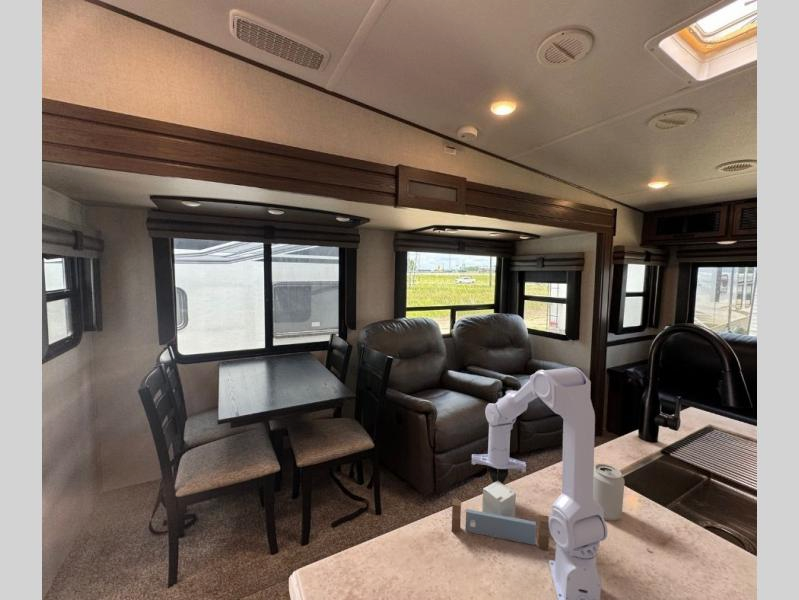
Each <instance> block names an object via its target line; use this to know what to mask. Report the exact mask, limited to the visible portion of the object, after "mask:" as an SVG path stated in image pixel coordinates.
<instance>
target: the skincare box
mask: <svg viewBox="0 0 799 600" xmlns="http://www.w3.org/2000/svg"><path fill="white" fill-rule="evenodd" d="M516 499H517V492H515V491H514V490H512V489H511V488H509V487H508V486H507V485H505V484H504V483H503V484H502V483H501V482H499V481H496V482H494V483H493V482H492V483H491V484H489V485H488V486H485V487H483V488H482V503H481V505H482V508H481V512H485V513H491V514H496V515H502V516H507V517H512V518H516V503H517V502H516Z"/></svg>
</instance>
